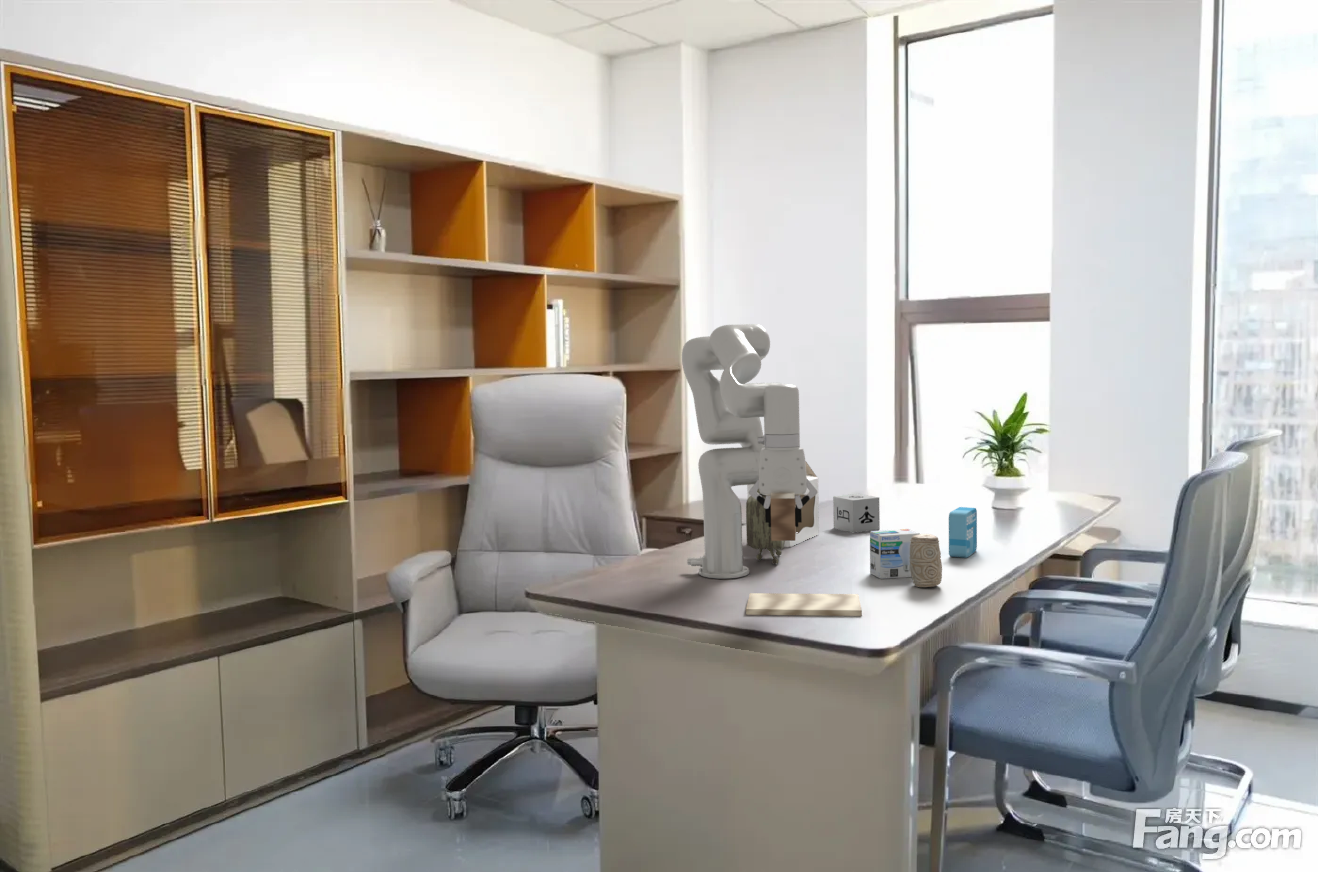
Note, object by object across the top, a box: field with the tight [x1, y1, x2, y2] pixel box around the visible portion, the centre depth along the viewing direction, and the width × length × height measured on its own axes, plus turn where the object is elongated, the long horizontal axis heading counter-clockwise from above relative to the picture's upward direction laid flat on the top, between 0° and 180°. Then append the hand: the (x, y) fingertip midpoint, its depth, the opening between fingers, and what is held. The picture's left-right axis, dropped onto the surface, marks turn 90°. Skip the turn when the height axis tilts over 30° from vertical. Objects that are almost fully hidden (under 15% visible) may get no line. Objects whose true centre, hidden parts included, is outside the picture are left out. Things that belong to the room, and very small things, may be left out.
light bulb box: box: [869, 528, 921, 580], centre depth 242 cm, size 11×7×11 cm, turn 101°
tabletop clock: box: [745, 489, 785, 565], centre depth 263 cm, size 14×9×25 cm, turn 168°
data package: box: [948, 506, 978, 559], centre depth 265 cm, size 12×4×12 cm, turn 149°
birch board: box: [745, 592, 863, 617], centre depth 214 cm, size 24×14×1 cm, turn 81°
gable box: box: [746, 460, 820, 548], centre depth 292 cm, size 22×13×28 cm, turn 149°
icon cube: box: [832, 493, 881, 533], centre depth 307 cm, size 10×10×10 cm
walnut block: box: [771, 492, 796, 541], centre depth 213 cm, size 5×9×10 cm, turn 171°
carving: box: [909, 533, 943, 588], centre depth 229 cm, size 6×8×12 cm
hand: (783, 525), depth 213 cm, fingers closed on walnut block, 5 cm apart
